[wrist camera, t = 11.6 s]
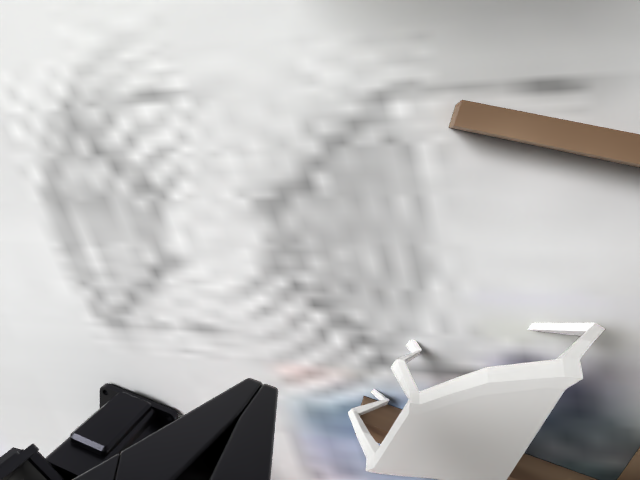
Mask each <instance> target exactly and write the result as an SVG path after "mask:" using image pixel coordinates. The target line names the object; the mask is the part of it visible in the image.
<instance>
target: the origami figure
mask: <svg viewBox="0 0 640 480" xmlns="http://www.w3.org/2000/svg"><path fill="white" fill-rule="evenodd" d="M527 330H533V331H540V332H550V333H559V334H568V335H577V336H581V337H580V338H579V339H578V340H576V341H575V342H574V343H573V344H572V345H571V346H570V347H569V348H568V349H567V350H566V351H565V352H564V353H563V354H561V355H560V356H559V357H558V358H557V359H554V360H546V361H537V362H528V363H519V364H511V365H502V366H493V367H486V368H483V369H480V370H477V371H474V372H471V373H468V374H466V375H463V376H460V377H457V378H454V379H451V380H448V381H446V382H443V383H441V384H438V385H435V386H433V387H430V388H428V389H425V390H422V391H420V392H419V390H418V388H417V386H416V384H415V382H414V380H413V378H412V376H411V374H410V371H409V369H408V367H407V365H406V363H408V362H409V361H411V360H412V359H414V358H415V357H417V356H418V355H419V353H420V352H421V350H422V349H421V348H420V346H419V345H418V343H417V341H416V340H410V341H409V342H408V343H407V345H406V347H407V348H408V349H409V351H410V352H411V353H410V354H407V355H405V356H403V357H400V358H398V359H396V360H395V362H394V363H393V365H392V366H391V367H390V368H391V369H392V371H393V373H394V375H395V377H396V379H397V380H398V382H399V384H400V386H401V387H402V389H403V391H404V393H405V394H406V396H407V398H408V399H409V400H408V402H407V403H406V405H405V406H404V408H403V410H402V411H401V413H400V414H399V416H398V418H397V419H396V421H395V422H394V424H393V426H392V427H391V429H390V430H389V432H388V434H387V435H386V437H385V438H384V440H383V442H382V443H381V445H380V446H379V445H378V444H377V442H376V441H375V440H374V438H373V437H372V436H371V434H370V433H369V431H368V429H367V428H366V426H365V424H364V423H363V421H362V419H361V418H360V415H363V414H365V413H368V412H370V411H373V410H375V409H377V408H380V407H382V406H385V405H387V403H388V402H389V399H388V398H386V397H385V396H384V395H383V394H381V393H380V392H379V391H377V390H376V389H373V391H372V392H371V393H372V394H373V395H374V396H375V397H376V398H377V399H379V400H380V401H376V402H373V403H369V404H365V405H362V406H358V407H355V408H352V409H351V410H350V411H349V412H348V414H349V417H350V419H351V422H352V425H353V428H354V430H355V433H356V436H357V438H358V440H359V442H360V445H361V447H362V449H363V451H364V454H365V456H366V458H367V460H366V471H368V472H372V473H377V474H387V475H397V476H408V477H421V478H433V479H439V480H507V478H508V477H509V475H510V474H511V472H512V471H513V469H514V468H515V466H516V465H517V463H518V462H519V460H520V458H521V457H522V455H523V454H524V452H525V451H526V449H527V448H528V446H529V445H530V443H531V442H532V440H533V439H534V437H535V436H536V434H537V432H538V431H539V429H540V428H541V426H542V425H543V423H544V422H545V420H546V419H547V417H548V416H549V414H550V413H551V411H552V410H553V408H554V406H555V405H556V403H557V402H558V400H559V399H560V397H561V396H562V394H563V393H564V391H565V390H566V389H567V388H569V387H570V386H572V385H573V384H575V383H577V382H578V381H580V380H582V379H583V374H582V368H581V363H580V359H581V357H582V356H583V355H584V354H585V352H586V351H587V350H588V348H589V347H590V346H591V345H592V343H593V342H594V341H595V340H596V339H597V338H598V337H599V336H600V334H601V333H602V332H603V331H604V330H605V328H603V327H602V326H600V325H598V324H597V323H532V324H531V325H530V327H529V328H528V329H527Z"/></svg>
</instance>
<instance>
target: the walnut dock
mask: <svg viewBox="0 0 640 480" xmlns="http://www.w3.org/2000/svg"><path fill="white" fill-rule="evenodd" d="M449 128H454V129H458V130H463V131H468V132H473V133H477V134H482V135H487V136H492V137H496V138H501V139H506V140H511V141H515V142H520V143H525V144H530V145H534V146H539V147H544V148H549V149H553V150H558V151H563V152H568V153H572V154H577V155H582V156H587V157H592V158H596V159H601V160H606V161H611V162H615V163H620V164H625V165H630V166H634V167H639V168H640V135H639V134H634V133H629V132H624V131H619V130H614V129H609V128H604V127H598V126H593V125H588V124H583V123H578V122H573V121H568V120H563V119H558V118H552V117H547V116H542V115H537V114H532V113H527V112H522V111H517V110H511V109H506V108H501V107H496V106H491V105H486V104H481V103H476V102H470V101H465V100H461V101H460V102H459V103H457V104H456V106H455V109H454V112H453V115H452V118H451V122H450V125H449ZM373 402H376V400H374V399H371V398H368V397H365V396H364V397H363V400H362V403H361V406H362V405H365V404H369V403H373ZM401 411H402V409H399V408H396V407H393V406H390V405H388V404H387V405H385V406H382V407H380V408H377V409H375V410H373V411H370V412H368V413H365V414H363V415H360V418H361V419H362V421H363V423H364V424H365V426H366V428H367V429H368V431H369V433H370V434H371V436H372V437H373V438H374V440H375V441H376V442H377V443H380V444H381V443H382V442H383V440H384V438H385V437H386V435H387V434H388V432H389V430H390V429H391V427H392V426H393V424H394V422H395V421H396V419H397V418H398V416H399V414H400V413H401ZM355 434H356V433H355ZM507 480H597V479H595V478H592V477H589V476H586V475H583V474H581V473H578V472H575V471H572V470H569V469H567V468H564V467H561V466H558V465H555V464H553V463H550V462H547V461H544V460H541V459H539V458H536V457H533V456H530V455H527V454H525V453H524V454H523V455H522V457H521V458H520V460H519V462H518V463H517V465H516V466H515V468H514V469H513V471H512V472H511V474H510V475H509V477H508V478H507ZM617 480H640V447H639V449H638V450H637V452H636V453H635V455H634V456H633V458H632V459H631V460H630V462H629V463H628V465H627V466H626V468H625V469H624V471H623V472H622V473H621V475H620V476H619V478H618V479H617Z"/></svg>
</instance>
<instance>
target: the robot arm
mask: <svg viewBox="0 0 640 480" xmlns="http://www.w3.org/2000/svg"><path fill="white" fill-rule="evenodd" d="M277 397H278V389H277V388H276V387H273V386H270V385H267V384H262V383H261V382H259V381H257V380H254V379H251V378H248V379H245V380H244V381H242V382H240V383H239V384H237V385H235V386H233V387H232V388H230V389H228V390H227V391H225V392H223V393H221V394H220V395H218V396H216V397H215V398H213V399H211V400H209V401H208V402H206V403H204V404H203V405H201V406H199V407H197V408H196V409H194V410H192V411H191V412H189V413H187V414H185V415H184V416H182V417H180V418H179V419H178V414H177V412H176V411H175V410H173V409H171V408H168V407H166V406H163V405H161V404H158V403H156V402H154V401H151V400H149V399H146V398H144V397H141V396H139V395H136V394H134V393H131V392H129V391H126V390H124V389H121V388H119V387H116V386H114V385H111V384H108V383H107V384H105V385H104V386H102V387H101V388H100V409H99V410H98V411H97V412H95V413H94V414H93V415H92V416H91V417H90V418H88V419H87V420H86V421H85V422H84V423H83V424H82V425H80V426H79V427H78V428H77V429H76V430H75V431H73V432H72V433H71V436H70V437H69V438H68V439H67V440H66V441H64V442H63V443H62V444H61V445H60V446H59V447H58V448H56V449H55V450H54V451H53V452H52V453H51V454H50V455H48V456H47V457H46V458H44V457H43V456H42V455H41V454H40V453H39V452H38V450H39V449H38V448H37V447H36V446H35V445H34V444H32V445H30V446H29V447H28V448H26V449H25V450H21V449H17V448H14V447H13V448H12V449H11V450H9V451H8V452H7V453H5V454H4V455H3V456H2V457H0V480H270V477H271V466H272V454H273V443H274V432H275V420H276V409H277Z"/></svg>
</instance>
